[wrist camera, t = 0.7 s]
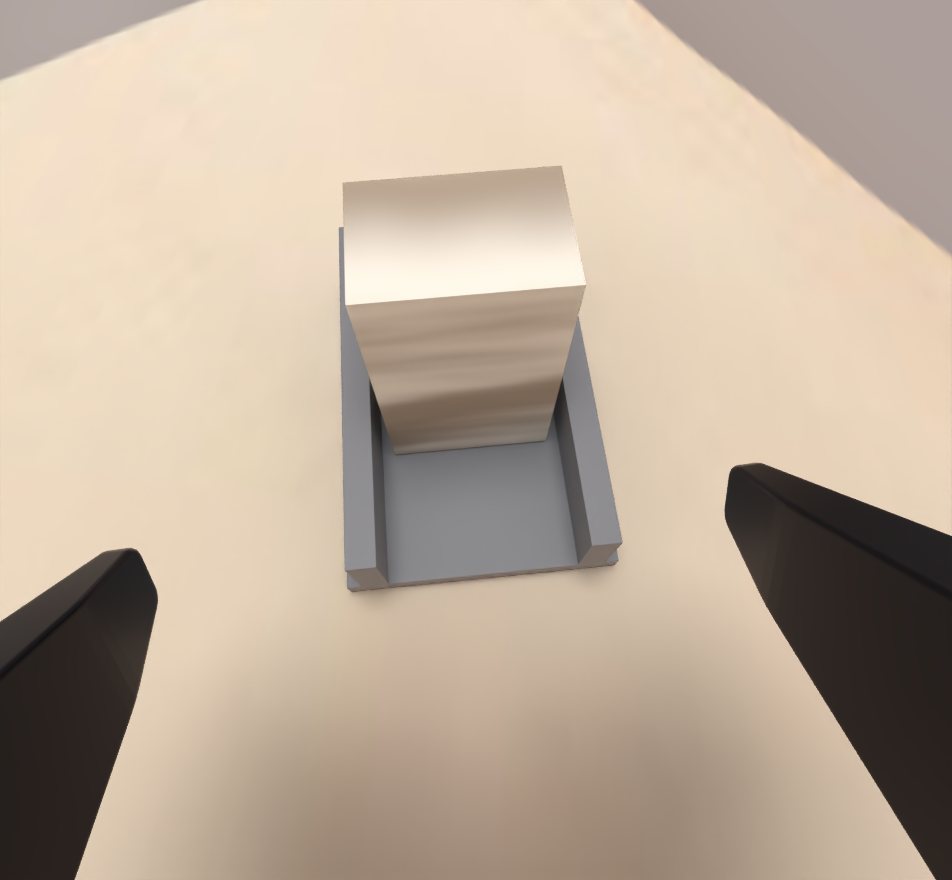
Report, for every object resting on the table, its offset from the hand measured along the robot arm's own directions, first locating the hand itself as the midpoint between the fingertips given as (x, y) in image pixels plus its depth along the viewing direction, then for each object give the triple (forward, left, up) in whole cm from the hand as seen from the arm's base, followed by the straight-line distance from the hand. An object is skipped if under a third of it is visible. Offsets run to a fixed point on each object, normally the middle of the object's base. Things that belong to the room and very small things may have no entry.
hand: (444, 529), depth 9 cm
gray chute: (+8, -3, -14) cm, 17 cm away
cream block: (+8, -3, -14) cm, 16 cm away
